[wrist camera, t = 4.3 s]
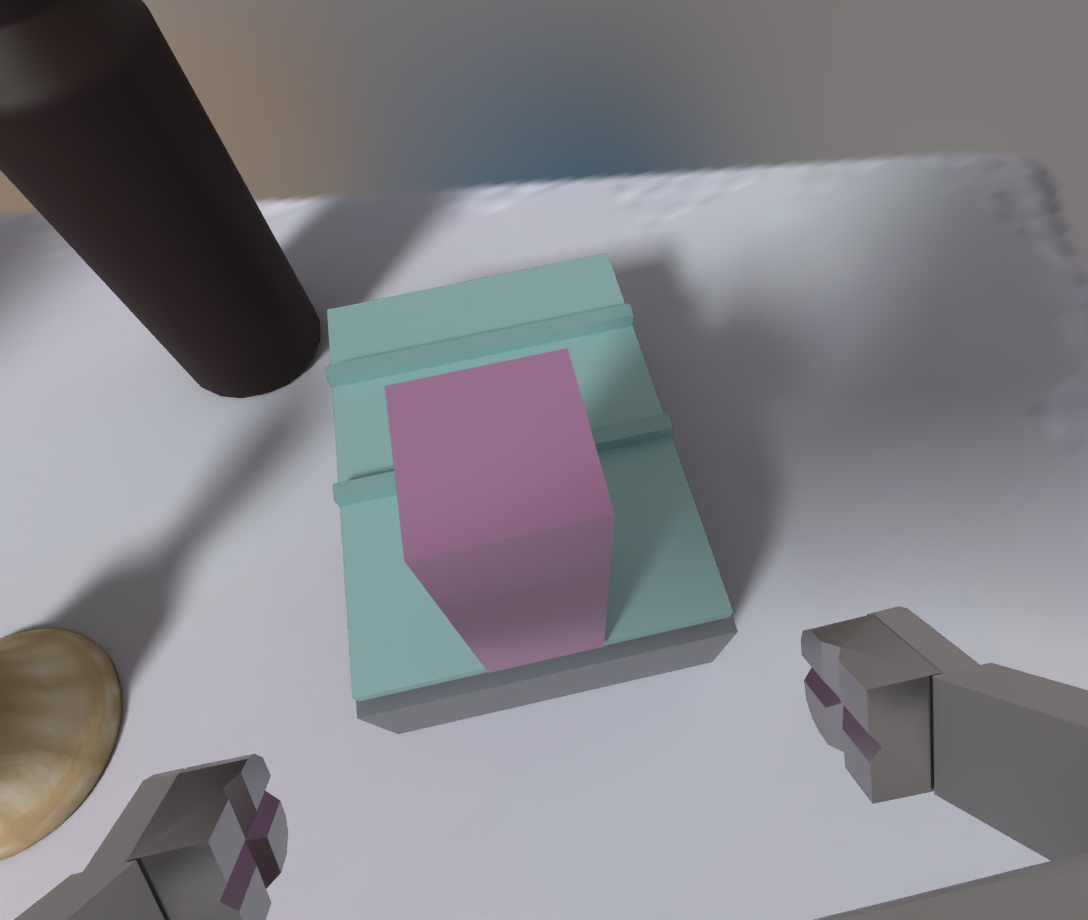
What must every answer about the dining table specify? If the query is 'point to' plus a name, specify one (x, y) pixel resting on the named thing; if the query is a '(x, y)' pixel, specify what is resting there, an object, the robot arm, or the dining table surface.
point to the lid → (506, 480)
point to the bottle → (148, 190)
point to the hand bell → (51, 730)
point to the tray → (548, 678)
